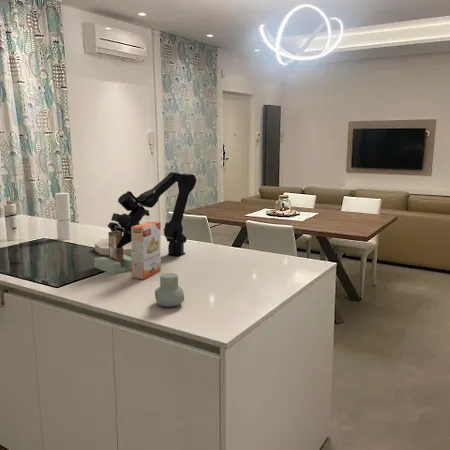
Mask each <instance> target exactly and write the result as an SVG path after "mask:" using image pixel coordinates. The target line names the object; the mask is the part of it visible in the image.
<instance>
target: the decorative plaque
mask: <svg viewBox="0 0 450 450" xmlns="http://www.w3.org/2000/svg"><path fill="white" fill-rule="evenodd" d="M108 244H109V238H105V239H100V240H99V241H97V242H95V243H94V251H95V252H97V253H98V255H103V256H109V245H108ZM123 255H126V256H129V257H132V244H131V242H130V243H128V244H126V245H124V246H123Z"/></svg>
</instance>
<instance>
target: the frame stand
mask: <svg viewBox="0 0 450 450" xmlns="http://www.w3.org/2000/svg"><path fill="white" fill-rule="evenodd" d="M123 260H124V262H121V263H120V262H117V261H114V260H111V259H110V258H109V257H108V258H107V257H104V256H100V257H96V258H94V268H95V269H98V270H101V271H103V272H106V273H109V274H110V275H116V274H121V273H125V272H129V271H132V256H126V255H123Z"/></svg>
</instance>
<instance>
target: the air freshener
mask: <svg viewBox="0 0 450 450" xmlns="http://www.w3.org/2000/svg"><path fill="white" fill-rule="evenodd" d="M159 279H160V280H159V283H160V284H159V285H160V286H159V287H158V288H156V289H155V291H154V298H155V302H156V303H157V305H158V306H160V307H165V308H173V307H177V306H179V305H181V304H182V303H184V301H185V292H184V290H183V288H182V287H181V286H179V275H178V274H177V273H173V272H167V273H165V272H164V273H163V274H161V275H160V277H159Z"/></svg>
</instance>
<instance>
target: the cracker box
mask: <svg viewBox="0 0 450 450" xmlns="http://www.w3.org/2000/svg"><path fill="white" fill-rule="evenodd" d="M161 226H162V225H161V222H159V221H146V222H142V223H139V225H136V226H132V227H131V244H132V256H131V257H132V270H131V278H132V279H138V280H145V279H146V280H147V278H149V277H152V276H153V275H155V274H157V273H159V272H160V271H161V262H162V261H161V258H162V257H161V248H162V247H161V244H162V243H161V240H162V239H161V237H162V236H161Z"/></svg>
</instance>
